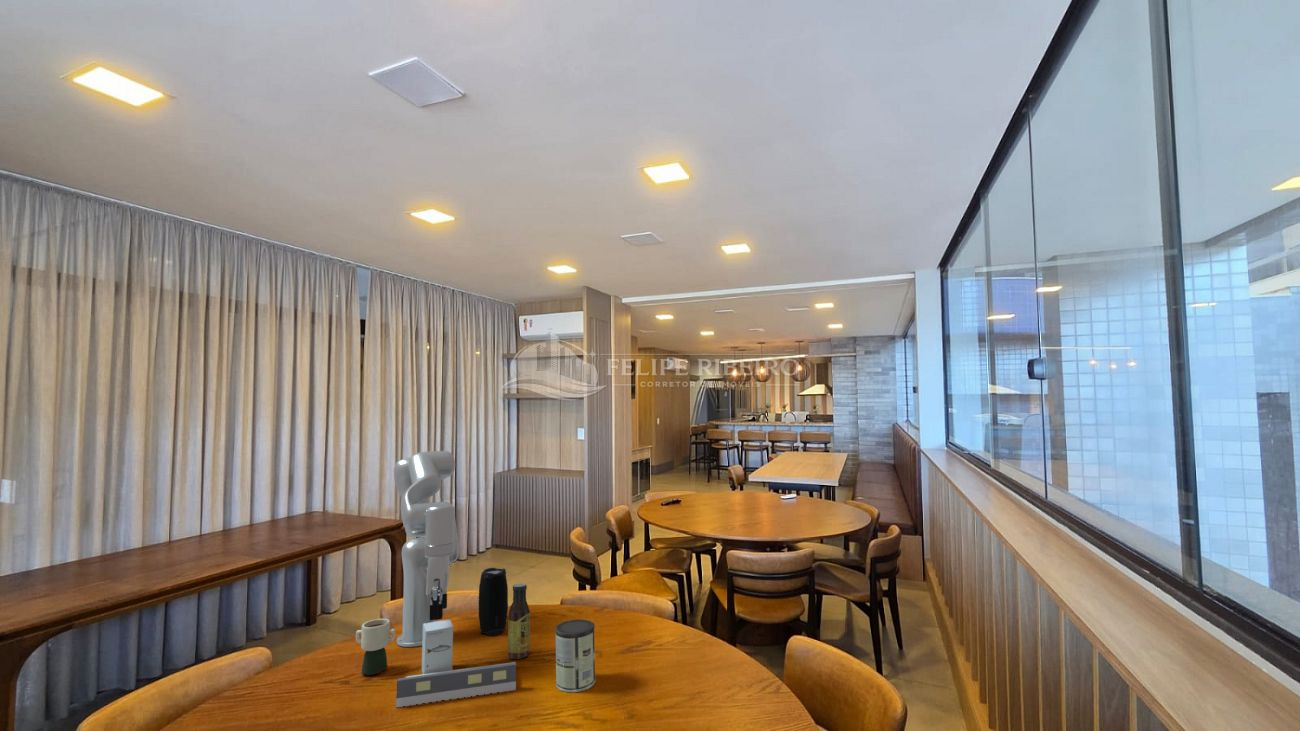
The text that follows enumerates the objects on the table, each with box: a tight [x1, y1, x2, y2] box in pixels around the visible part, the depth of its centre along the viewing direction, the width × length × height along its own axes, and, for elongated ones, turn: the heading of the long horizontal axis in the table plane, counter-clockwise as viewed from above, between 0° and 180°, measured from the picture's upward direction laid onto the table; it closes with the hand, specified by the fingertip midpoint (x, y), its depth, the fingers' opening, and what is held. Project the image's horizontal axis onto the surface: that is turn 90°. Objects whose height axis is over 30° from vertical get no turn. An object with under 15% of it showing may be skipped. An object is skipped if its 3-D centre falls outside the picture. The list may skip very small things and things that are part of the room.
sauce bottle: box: [507, 582, 531, 660], centre depth 155 cm, size 7×6×20 cm
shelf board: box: [395, 661, 517, 709], centre depth 135 cm, size 12×28×2 cm, turn 105°
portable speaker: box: [478, 567, 509, 637], centre depth 174 cm, size 9×9×20 cm
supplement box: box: [421, 618, 454, 675], centre depth 145 cm, size 7×7×13 cm
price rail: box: [395, 662, 517, 699], centre depth 131 cm, size 1×28×4 cm, turn 105°
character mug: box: [355, 618, 396, 676], centre depth 146 cm, size 11×7×13 cm, turn 91°
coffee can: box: [554, 618, 596, 693], centre depth 137 cm, size 10×10×14 cm
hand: (438, 613), depth 145 cm, fingers open, 9 cm apart
